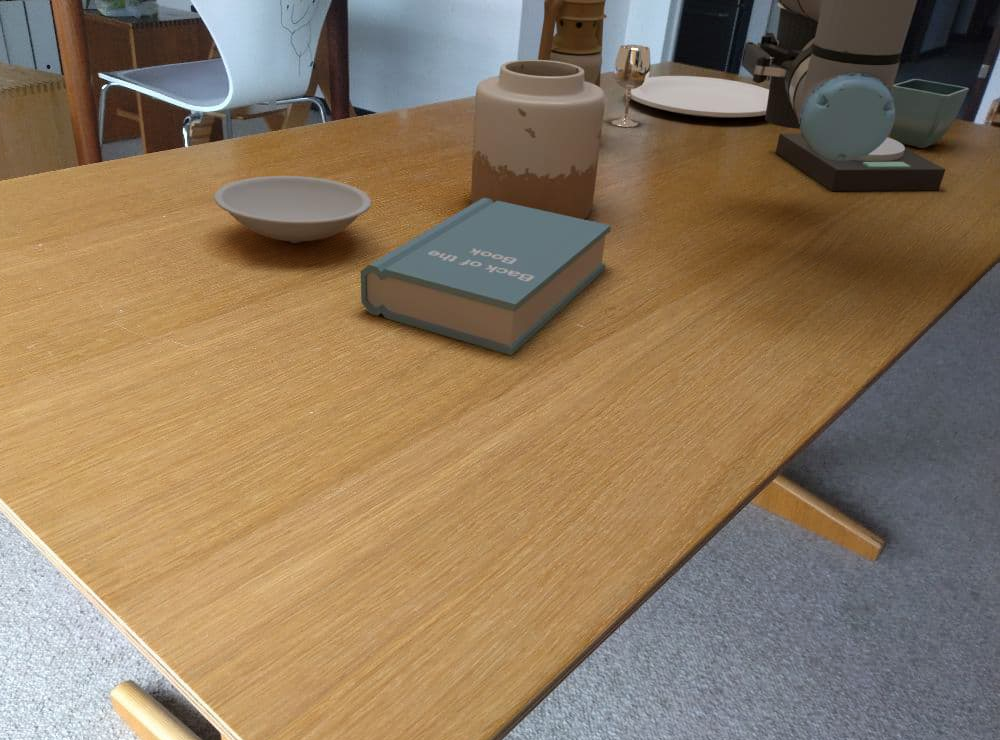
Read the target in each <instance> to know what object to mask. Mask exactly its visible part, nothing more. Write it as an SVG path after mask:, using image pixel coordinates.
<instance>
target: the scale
mask: <svg viewBox="0 0 1000 740" xmlns="http://www.w3.org/2000/svg"><path fill="white" fill-rule="evenodd" d="M775 154H776V155H778V156H779V157H781V158H782V159H784V160H785V161H787V162H788V163H790V164H791V165H792V166H794V167H795V168H796V169H798V170H800V171H801V172H803V173H804V174H806V175H807V176H808V177H810V178H811V179H813V180H814V181H816V182H818V183H819V184H820V185H822V186H823V187H824V188H826V189H828V190H829V191H830V192H876V191H877V192H887V191H888V192H891V191H892V192H893V191H895V192H896V191H899V192H900V191H902V192H904V191H906V192H907V191H910V192H911V191H939V190H940V187H941V184H942V181H943V179H944V175H945V173H946V168H944V167H942V166H940V165H939V164H936V163H935V162H933V161H930V160H928V159H927V158H925V157H923V156H922V155H919V154H918V153H915V152H914V151H912V150H910V149H907V148H906V147H905V144H901V143H900V142H898V141H896V140H894V139H892V137H887V138H886V139H885V141H884V142H883V143H882V144H881V145H880V146H879V147H878V148H877V149H875V150H874V151H873V152H871V153H870V154H868V155H866V156H864V157H862V158H859V159H855V160H850V161H836V160H831V159H828V158H825V157H823V156H822V155H820V154H818V153H817V152H816V151H815V150H814V149H813V148H812V147H811V146H810V145H809V144H808V142H806V141H805V140H804V138H803V136H802V133H795V132H793V133H792V132H790V133H789V132H788V133H786V132H785V133H781V132H780V133H779V136H778V140H777V144H776V149H775Z"/></svg>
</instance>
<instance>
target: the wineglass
mask: <svg viewBox="0 0 1000 740" xmlns="http://www.w3.org/2000/svg"><path fill="white" fill-rule="evenodd" d="M650 49H651V48H650V47H649V46H645V45H639V44H622V45H620V46H619V49H618V52H617V54H616V57H615V61H614V68H613V78H614V80H615V82H616V84H618V85H619V86H620V87H622V88H624V89H625V90H626V89H628V90H627V92H625V96H624V97H625V107H624V114H623V116H622V117H621V118H617V119H613V120H611V124H612V125H614V126H616V127H617V126H618V127H622V128H633V127H637V126H639V123H638V122H637V121H636V120H632V119H630V118H629V105H630V101H631V100H632V99H631V96H632V92H631V89H635V88H638V87H640V86H642V85H643V84H644V83H645V82H646V81H647V79H648V77H650V72H651V51H650Z"/></svg>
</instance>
